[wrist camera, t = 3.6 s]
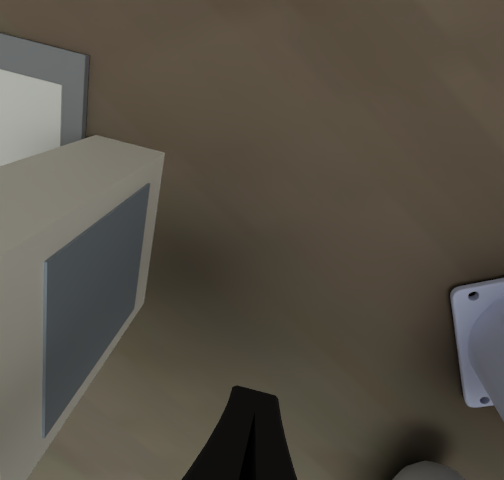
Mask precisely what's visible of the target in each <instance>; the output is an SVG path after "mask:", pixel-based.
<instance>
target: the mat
mask: <svg viewBox="0 0 504 480" xmlns="http://www.w3.org/2000/svg"><path fill="white" fill-rule="evenodd" d="M89 60H90V56H89V55H86V54H82V53H78V52H74V51H70V50H66V49H62V48H58V47H55V46H51V45H47V44H43V43H39V42H35V41H31V40H27V39H23V38H20V37H16V36H12V35H8V34H4V33H0V166H2V165H5V164H8V163H11V162H15V161H18V160H21V159H24V158H27V157H30V156H33V155H36V154H39V153H42V152H45V151H48V150H51V149H54V148H57V147H60V146H63V145H66V144H70V143H73V142H76V141H79V140H82V139H85V135H86V116H87V98H88V79H89Z"/></svg>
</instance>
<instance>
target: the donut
mask: <svg viewBox="0 0 504 480" xmlns="http://www.w3.org/2000/svg"><path fill="white" fill-rule="evenodd" d="M392 480H465V479H464V478H463V477H462V476H461V475H460V474H459V473H458V472H457V471H455V470H453V469H451V468H449V467H447V466H444V465H441V464H439V463H436V462H432V461H422V462H418V463H415V464H411V465H408V466H406V467H404V468H403V469H402V470H401V471H400V472H399V473H398V474H397V475H396V476H395V477H394V478H393V479H392Z"/></svg>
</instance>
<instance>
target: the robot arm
mask: <svg viewBox="0 0 504 480" xmlns="http://www.w3.org/2000/svg"><path fill="white" fill-rule="evenodd" d="M471 292H476V294H475V295H473V296H468V295H469V294H470V293H471ZM450 299H451V307H452V314H453V322H454V329H455V337H456V344H457V352H458V360H459V367H460V375H461V382H462V390H463V397H464V400H465V402H466V404H467V405H468V406H469V407H475V408H476V407H484V406H492V405H494V406H495V408H496V409H497V411H498V413H499V415H500V416H501V418H502V420H503V421H504V278H500V279H495V280H490V281H484V282H479V283H474V284H468V285H463V286H458V287H456V288H454V289H453V290H452V291H451V293H450ZM482 397H485V398H483V399H481V398H482ZM182 480H297V477H296V474H295V471H294V468H293V464H292V461H291V457H290V454H289V450H288V446H287V442H286V438H285V434H284V430H283V425H282V420H281V415H280V409H279V401H278V398H277V397H276V396H275V395H271V394H267V393H264V392H260V391H256V390H252V389H249V388H245V387H241V386H234V387H232V391H231V394H230V398H229V401H228V403H227V406H226V408H225V410H224V412H223V414H222V416H221V418H220V420H219V422H218V424H217V426H216V427H215V429H214V431H213V433H212V434H211V436H210V438H209V440H208V441H207V443H206V445H205V446H204V448H203V449H202V451H201V452H200V454H199V455H198V457H197V458H196V460H195V461H194V463H193V464H192V466H191V467H190V469H189V470H188V472H187V473H186V474H185V476H184V477H183V478H182Z"/></svg>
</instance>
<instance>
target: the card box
mask: <svg viewBox="0 0 504 480" xmlns="http://www.w3.org/2000/svg"><path fill="white" fill-rule="evenodd" d="M164 156H165V153H164V152H160V151H156V150H152V149H149V148H145V147H141V146H137V145H133V144H129V143H125V142H122V141H118V140H114V139H110V138H106V137H102V136H98V135H94V136H91V137H88V138H85V139H82V140H79V141H76V142H73V143H70V144H66V145H63V146H60V147H57V148H54V149H51V150H48V151H45V152H42V153H39V154H36V155H33V156H30V157H27V158H24V159H21V160H18V161H15V162H11V163H8V164H5V165H2V166H0V480H27V478H28V477H29V475H30V474H31V472H32V471H33V469H34V468H35V466H36V465H37V463H38V462H39V460H40V459H41V457H42V456H43V454H44V453H45V451H46V450H47V448H48V447H49V445H50V444H51V442H52V441H53V439H54V438H55V436H56V435H57V433H58V432H59V430H60V429H61V427H62V426H63V424H64V423H65V421H66V420H67V418H68V417H69V415H70V414H71V412H72V411H73V409H74V408H75V406H76V405H77V403H78V402H79V400H80V399H81V397H82V396H83V394H84V393H85V391H86V390H87V388H88V387H89V385H90V384H91V382H92V381H93V379H94V378H95V376H96V375H97V373H98V372H99V370H100V368H101V367H102V365H103V364H104V362H105V361H106V359H107V358H108V356H109V355H110V353H111V352H112V350H113V349H114V347H115V346H116V344H117V343H118V341H119V340H120V338H121V337H122V335H123V334H124V332H125V331H126V329H127V328H128V326H129V325H130V323H131V322H132V320H133V319H134V317H135V316H136V314H137V313H138V311H139V310H140V308H141V307H142V305H143V304H144V300H145V293H146V285H147V278H148V271H149V264H150V257H151V249H152V242H153V235H154V228H155V221H156V213H157V206H158V199H159V192H160V185H161V177H162V170H163V163H164Z"/></svg>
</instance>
